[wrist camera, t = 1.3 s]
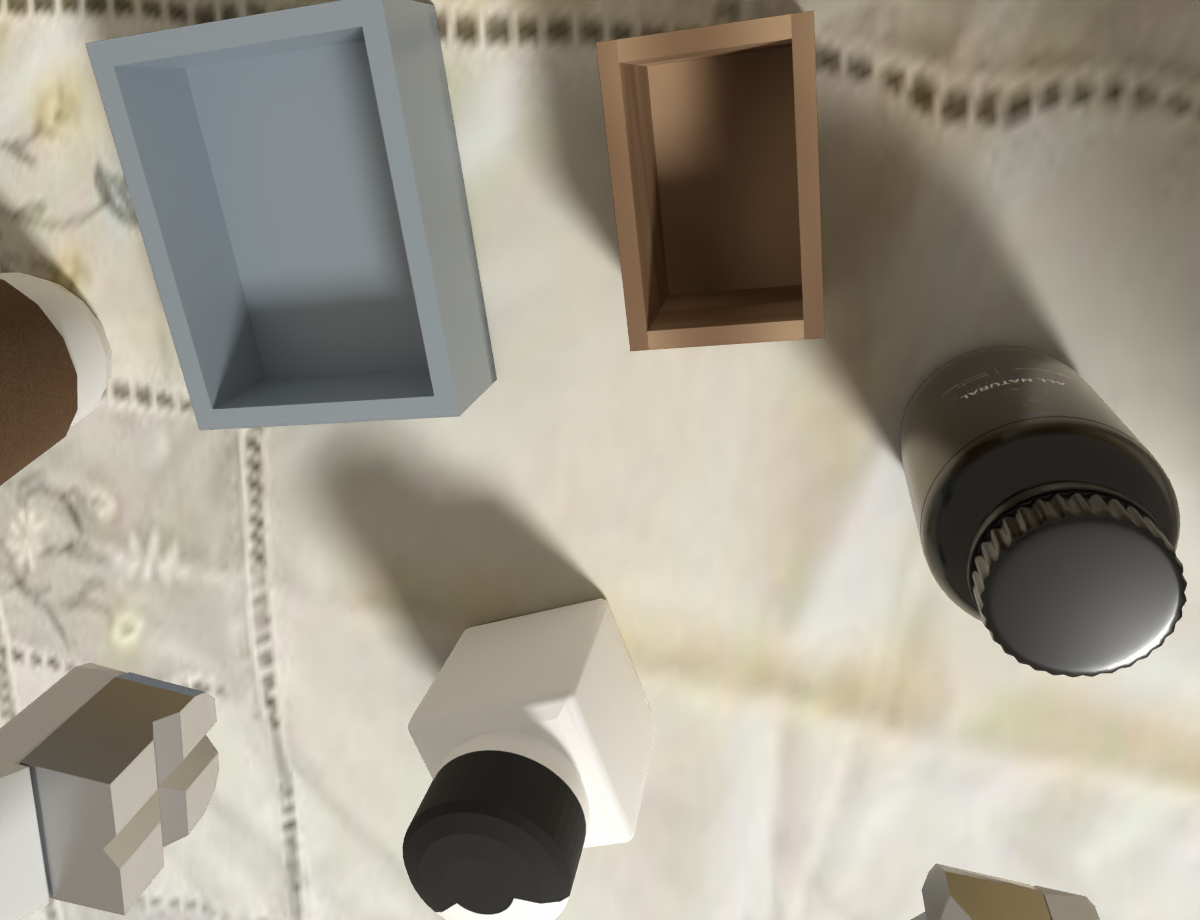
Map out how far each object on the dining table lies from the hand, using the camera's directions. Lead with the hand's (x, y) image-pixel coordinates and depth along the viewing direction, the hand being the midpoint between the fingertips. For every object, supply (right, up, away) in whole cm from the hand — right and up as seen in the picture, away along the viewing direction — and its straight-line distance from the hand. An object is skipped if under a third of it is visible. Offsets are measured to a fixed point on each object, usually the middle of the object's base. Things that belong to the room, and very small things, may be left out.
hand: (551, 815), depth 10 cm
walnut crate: (+5, +14, +22) cm, 27 cm away
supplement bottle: (+15, +5, +23) cm, 28 cm away
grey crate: (-10, +13, +25) cm, 30 cm away
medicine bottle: (-1, -6, +31) cm, 32 cm away
